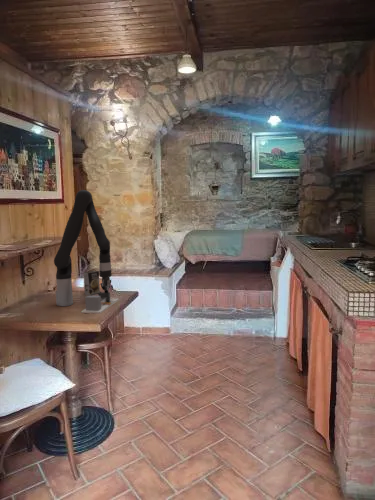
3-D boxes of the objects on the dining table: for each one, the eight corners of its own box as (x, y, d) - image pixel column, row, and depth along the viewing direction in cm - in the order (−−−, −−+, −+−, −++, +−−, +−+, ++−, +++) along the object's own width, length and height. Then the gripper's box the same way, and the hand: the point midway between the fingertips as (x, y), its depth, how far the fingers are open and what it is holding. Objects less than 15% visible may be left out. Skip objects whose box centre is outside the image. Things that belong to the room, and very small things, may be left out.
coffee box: (90, 295, 263) (88, 273, 261) (84, 294, 267) (83, 272, 265) (100, 293, 270) (99, 271, 268) (94, 291, 274) (93, 270, 272)
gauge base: (81, 312, 220) (80, 297, 219) (102, 299, 250) (101, 286, 249) (100, 313, 218) (99, 298, 217) (119, 300, 248) (118, 286, 247)
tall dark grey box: (91, 306, 228) (90, 297, 227) (99, 301, 241) (99, 292, 240) (106, 307, 226) (105, 297, 226) (114, 301, 239) (113, 292, 238)
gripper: (103, 267, 248) (105, 293, 250) (95, 271, 235) (97, 298, 237) (114, 267, 246) (115, 293, 248) (106, 271, 233) (108, 298, 235)
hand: (106, 295), depth 243 cm, fingers closed
